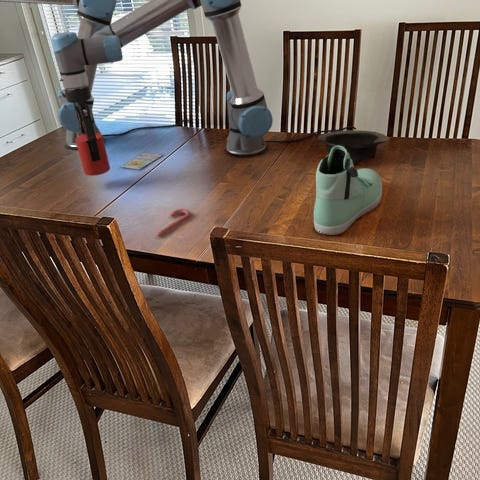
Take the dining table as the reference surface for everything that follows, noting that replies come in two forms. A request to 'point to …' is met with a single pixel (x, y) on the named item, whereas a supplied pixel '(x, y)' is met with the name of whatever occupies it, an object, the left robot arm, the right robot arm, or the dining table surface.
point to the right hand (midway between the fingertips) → (93, 155)
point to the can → (88, 165)
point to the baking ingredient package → (141, 161)
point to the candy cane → (177, 222)
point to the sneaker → (343, 192)
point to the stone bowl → (354, 143)
